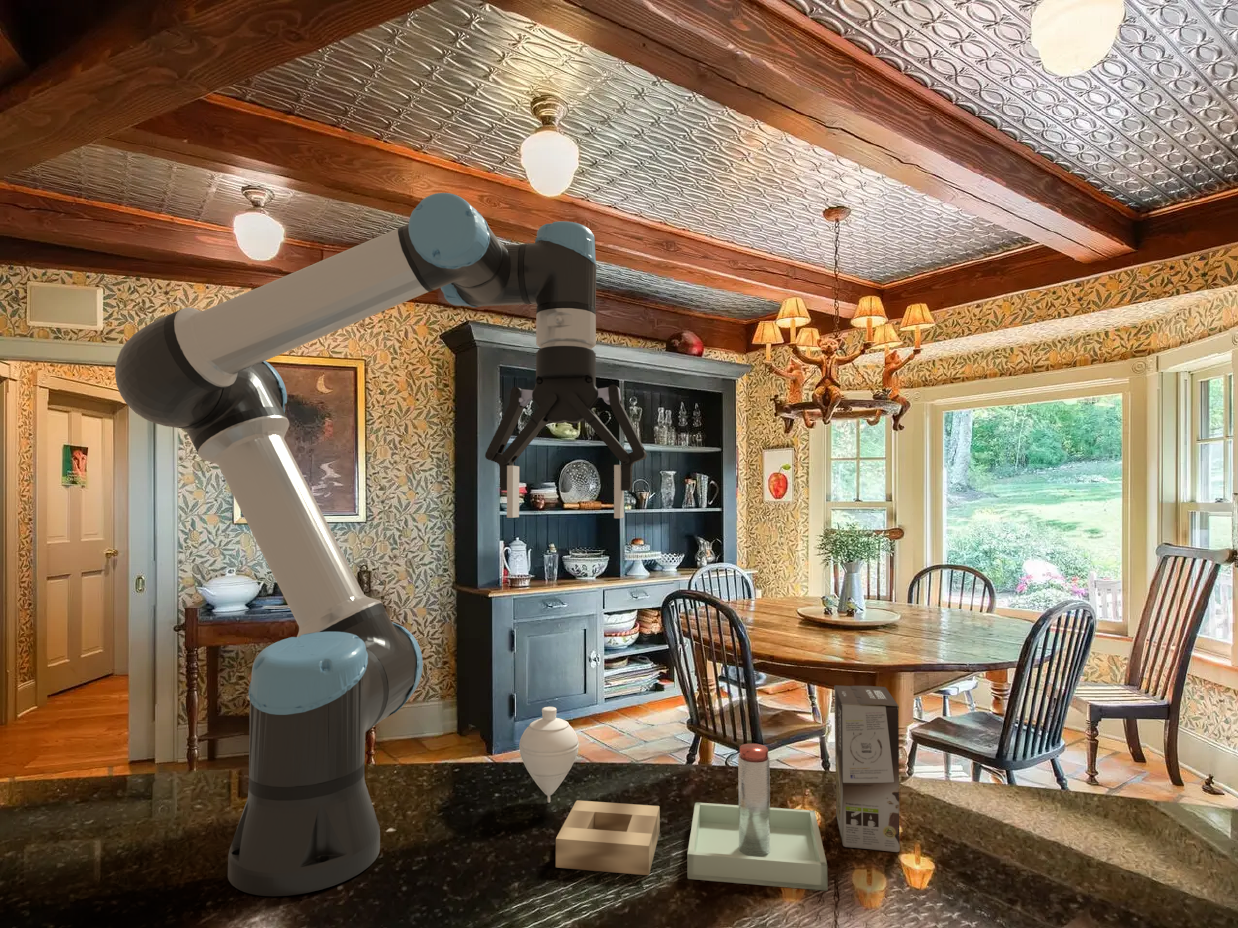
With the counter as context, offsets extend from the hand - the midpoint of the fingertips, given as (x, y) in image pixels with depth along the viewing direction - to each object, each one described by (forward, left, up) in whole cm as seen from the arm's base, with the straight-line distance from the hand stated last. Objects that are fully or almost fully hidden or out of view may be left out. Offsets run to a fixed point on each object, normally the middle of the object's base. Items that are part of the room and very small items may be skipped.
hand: (565, 518), depth 92 cm
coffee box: (+36, +2, -37) cm, 52 cm away
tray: (+23, -6, -37) cm, 44 cm away
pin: (+23, -6, -36) cm, 43 cm away
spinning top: (-3, +4, -37) cm, 37 cm away
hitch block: (+7, -7, -37) cm, 38 cm away
